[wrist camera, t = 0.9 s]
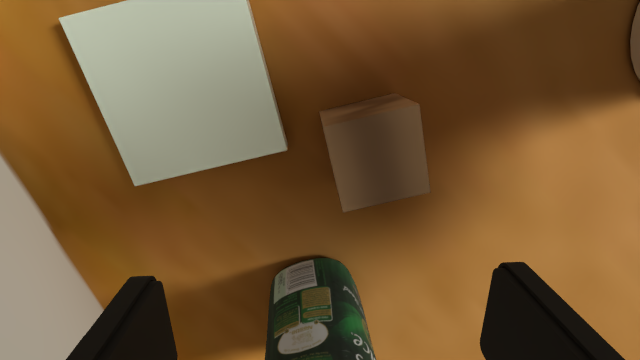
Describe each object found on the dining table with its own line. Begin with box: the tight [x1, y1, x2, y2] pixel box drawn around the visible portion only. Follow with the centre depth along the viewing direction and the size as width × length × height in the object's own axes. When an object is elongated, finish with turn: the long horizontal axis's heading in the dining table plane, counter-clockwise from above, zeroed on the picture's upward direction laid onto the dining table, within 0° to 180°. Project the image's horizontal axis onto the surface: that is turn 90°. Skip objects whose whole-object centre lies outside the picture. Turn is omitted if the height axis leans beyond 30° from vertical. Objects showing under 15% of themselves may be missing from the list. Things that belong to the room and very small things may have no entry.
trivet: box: [59, 0, 288, 186], centre depth 25 cm, size 12×12×2 cm
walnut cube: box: [319, 93, 430, 212], centre depth 25 cm, size 6×6×6 cm
